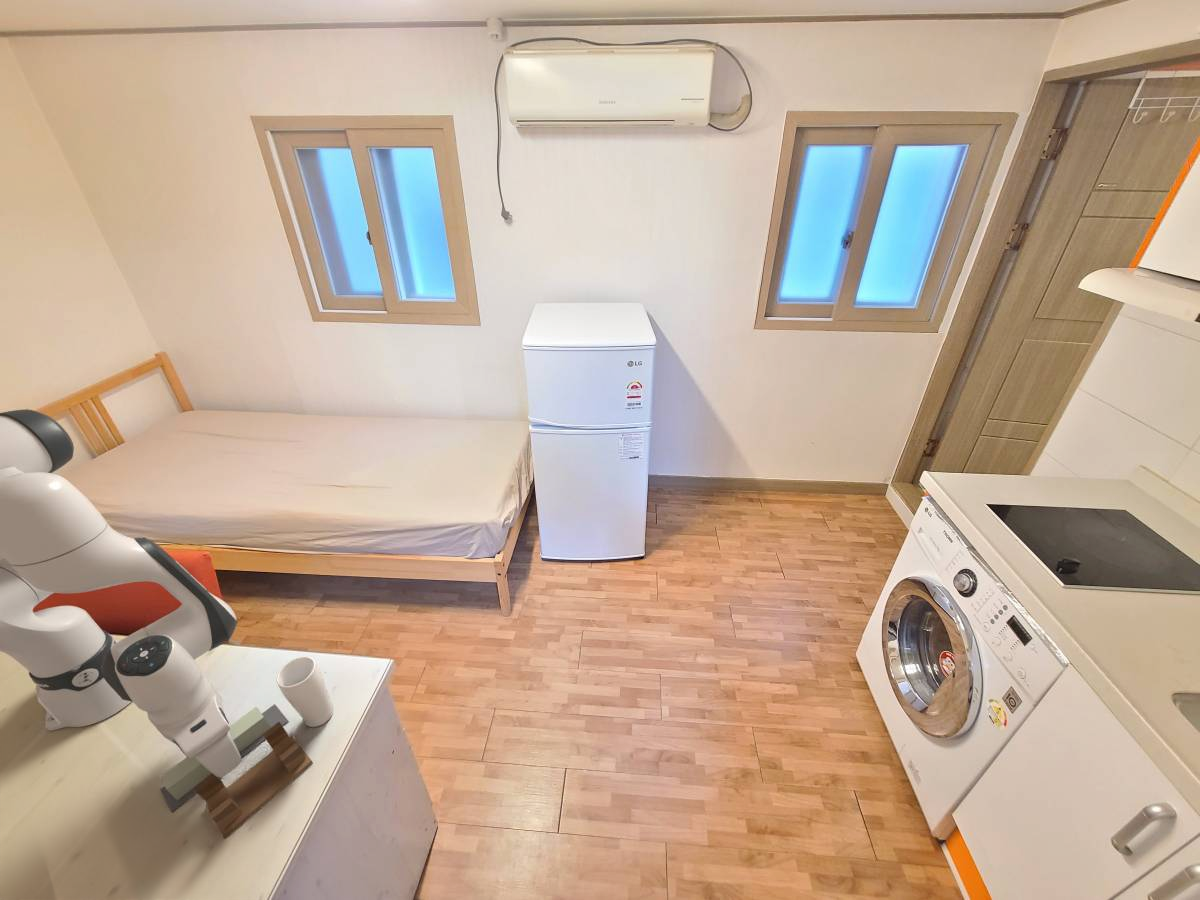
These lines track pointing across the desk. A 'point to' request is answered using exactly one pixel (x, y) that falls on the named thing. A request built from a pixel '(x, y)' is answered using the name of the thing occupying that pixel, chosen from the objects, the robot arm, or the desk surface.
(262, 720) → the clay strip
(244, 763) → the desk surface
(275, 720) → the pad
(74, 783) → the desk surface
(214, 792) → the rack
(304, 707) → the drinking glass
